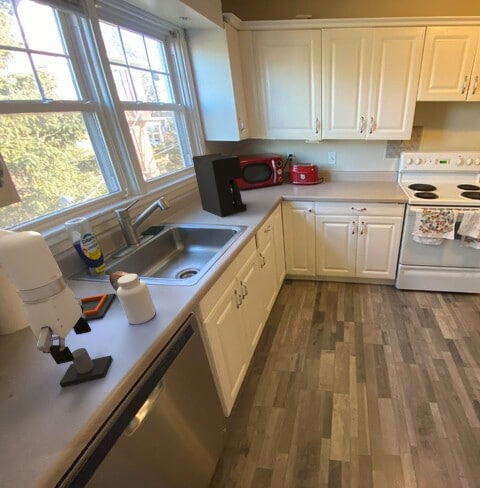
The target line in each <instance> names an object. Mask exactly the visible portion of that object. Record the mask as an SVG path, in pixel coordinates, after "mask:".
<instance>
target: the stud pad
mask: <svg viewBox="0 0 480 488" xmlns="http://www.w3.org/2000/svg"><path fill="white" fill-rule="evenodd" d="M71 353H72V355H73V356H74V360H73V361H71V362H72V363H70V364H69V366H68V367H67V370H66V371H65V373H64V375H63V376H62V378H61V380H60V381H59V383H58V384H59V385H60V387H61V388H65V387H69V386H74V385H79V384H82V383H87V382H90V381H95V380H98V379H102V378H105V377H106V375H107V373H108V370H109V369H110V366H111V364H112V362H113V357H112V355H106V356H101V357H96V358H91V356H90V354H89V352H88V350H87V349H86V348H85V347H80V348H77V349H75V350H73V351H71Z"/></svg>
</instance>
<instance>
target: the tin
mask: <svg viewBox="0 0 480 488" xmlns="http://www.w3.org/2000/svg"><path fill="white" fill-rule="evenodd" d="M127 274H130V273H129V272H125V271H123V270H117V271H115V272H112V273H110V274H109V275H108V279H109V283H110V286H111V287H112V288H113V289H114V291H115V292H117V290H118V288H119V287H120V286H119V285H118V282H117V281H118V279H119V278H120V277H122V276H124V275H127ZM139 280H141V279H140V278H139Z"/></svg>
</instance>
